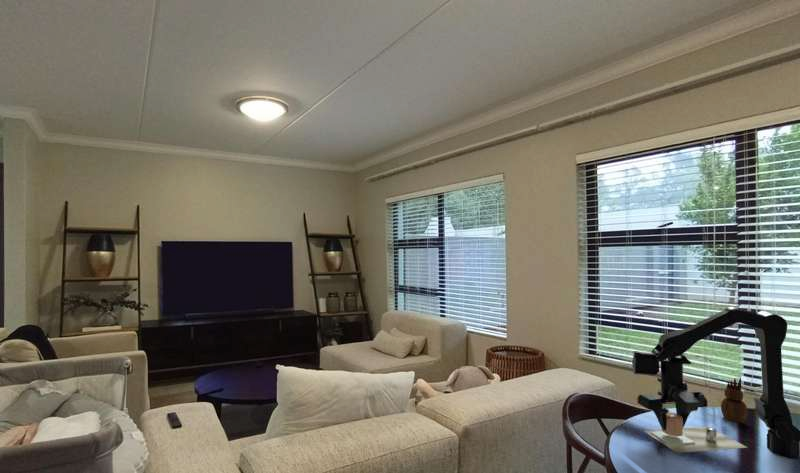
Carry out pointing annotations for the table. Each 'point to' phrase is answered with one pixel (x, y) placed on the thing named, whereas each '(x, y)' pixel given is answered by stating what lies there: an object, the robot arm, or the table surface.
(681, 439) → the pad
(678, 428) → the cap
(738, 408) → the wooden figurine
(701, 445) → the board
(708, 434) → the silver metal cylinder
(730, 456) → the table surface
